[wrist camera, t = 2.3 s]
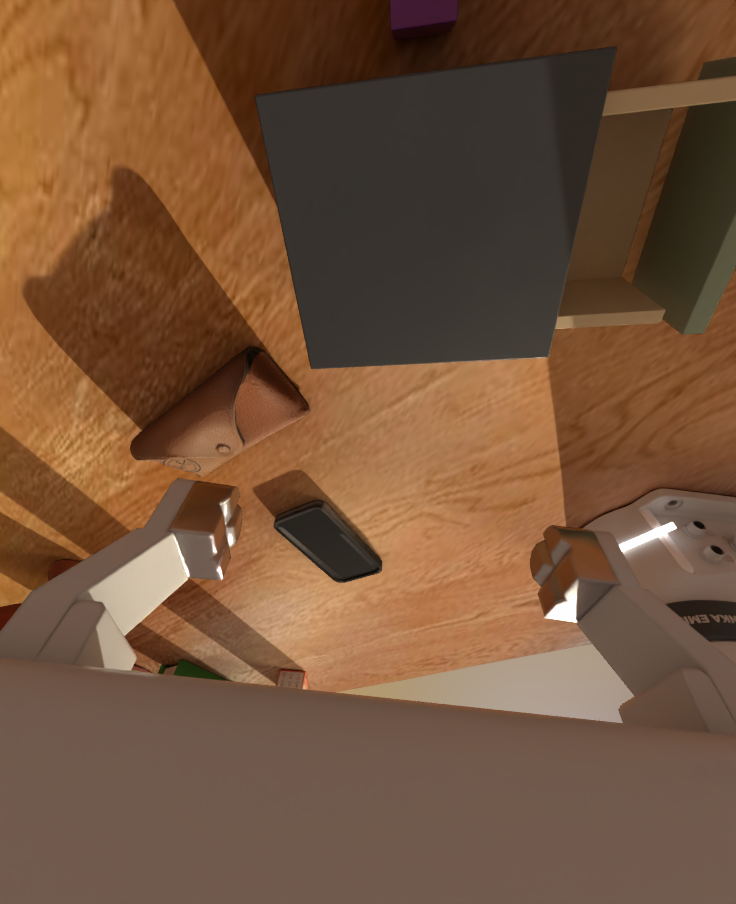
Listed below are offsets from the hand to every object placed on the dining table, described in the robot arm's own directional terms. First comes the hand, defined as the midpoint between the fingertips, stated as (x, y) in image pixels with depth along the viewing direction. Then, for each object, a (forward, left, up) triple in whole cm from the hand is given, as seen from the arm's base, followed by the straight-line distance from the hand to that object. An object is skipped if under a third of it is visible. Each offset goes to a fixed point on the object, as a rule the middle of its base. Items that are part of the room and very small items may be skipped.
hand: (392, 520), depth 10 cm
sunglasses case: (+18, +13, -25) cm, 34 cm away
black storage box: (-1, -3, -25) cm, 25 cm away
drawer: (-13, -3, -24) cm, 27 cm away
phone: (+10, +34, -25) cm, 43 cm away
